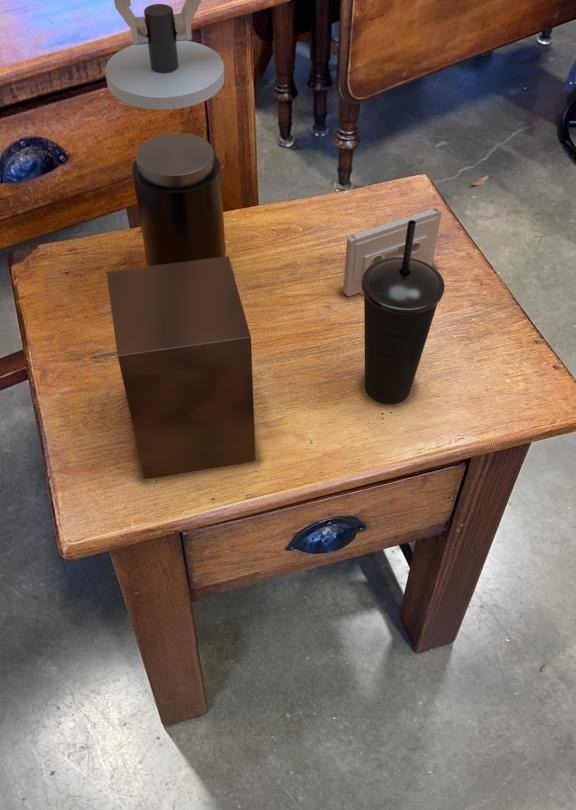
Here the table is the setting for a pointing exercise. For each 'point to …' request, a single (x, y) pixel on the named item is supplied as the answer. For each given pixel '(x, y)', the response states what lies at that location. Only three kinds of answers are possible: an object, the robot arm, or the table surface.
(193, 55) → the lid
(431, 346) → the table surface
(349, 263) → the cassette
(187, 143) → the thermos
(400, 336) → the drinking cup
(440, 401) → the table surface
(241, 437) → the riser
